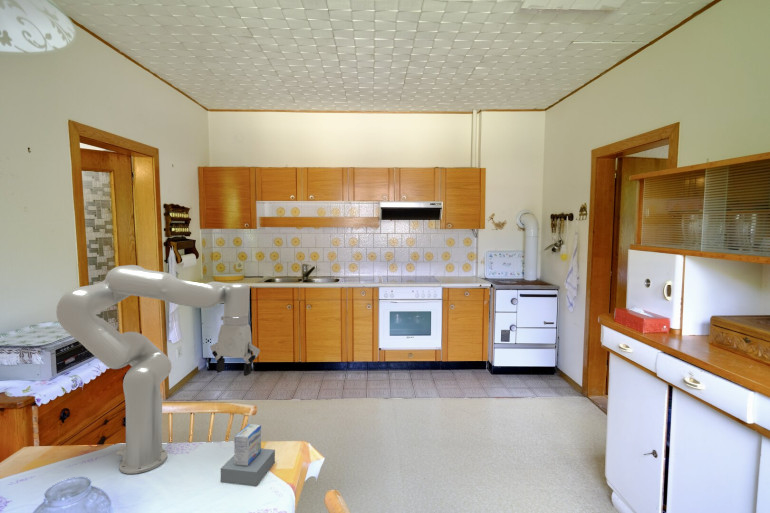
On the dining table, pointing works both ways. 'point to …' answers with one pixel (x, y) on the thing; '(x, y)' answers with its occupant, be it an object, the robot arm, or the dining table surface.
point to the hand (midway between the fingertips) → (233, 373)
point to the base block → (248, 469)
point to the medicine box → (247, 445)
